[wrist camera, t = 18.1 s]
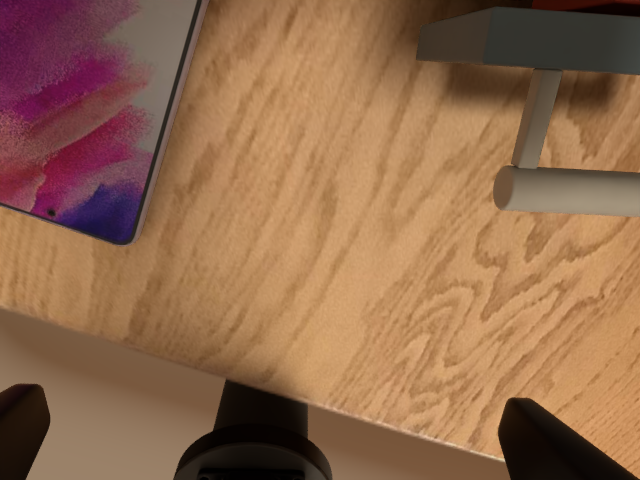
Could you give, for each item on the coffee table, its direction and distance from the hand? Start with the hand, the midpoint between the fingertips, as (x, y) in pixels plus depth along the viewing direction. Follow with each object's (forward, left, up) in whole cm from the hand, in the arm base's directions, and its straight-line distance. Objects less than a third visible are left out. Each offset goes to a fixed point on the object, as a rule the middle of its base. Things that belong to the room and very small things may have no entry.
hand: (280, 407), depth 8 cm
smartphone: (+6, +8, -12) cm, 16 cm away
